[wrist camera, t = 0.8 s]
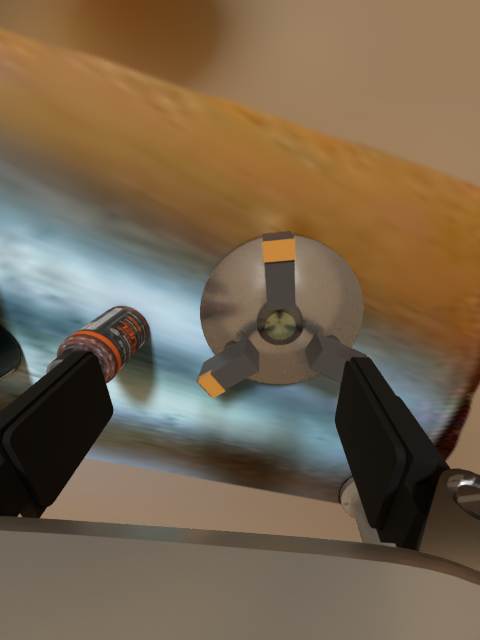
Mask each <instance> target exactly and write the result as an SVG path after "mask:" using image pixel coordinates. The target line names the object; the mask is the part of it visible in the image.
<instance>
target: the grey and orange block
mask: <svg viewBox="0 0 480 640" xmlns="http://www.w3.org/2000/svg"><path fill="white" fill-rule="evenodd" d="M262 246H263V260H264V266H265V280H266V295H267V309H268V310H280V309H294V308H296V303H295V238H294V235H293V234H292V233H291V232H290V231H287V232H277V233H267V234H263V241H262Z"/></svg>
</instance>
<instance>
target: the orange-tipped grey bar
mask: <svg viewBox="0 0 480 640" xmlns="http://www.w3.org/2000/svg"><path fill="white" fill-rule="evenodd" d="M257 372H259V351H258V350H257V349H256V347H255V346H254V345H253V344H252V342H251V341H250V340H249V339H248V337H245V338H243V339H242V340H240V341H238V342H236V341H230V342H228V343H226V345H225V348H224V351H222V352H220V353H219V354H217V355H215V356H214V357H212V358H210V359H209V360H207V361H205V362H204V364H203V366H202V369H201V372H200V374H199V377H198V380H197V382H198V383H199V384H200V386H201V387H202V388H203V389H204V390H205V391H206V392H207V393H208V394H209V395H210V396H211V397H212V398H214V397H216V396H218V395H220V394H222V393H224V392H225V390H226V389H228V388H230V387H232V386H233V385H235V384H237V383H239V382H241V381H243V380H244V379H246V378H248V377H250V376H252V375H254V374H255V373H257Z"/></svg>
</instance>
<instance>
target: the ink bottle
mask: <svg viewBox="0 0 480 640" xmlns="http://www.w3.org/2000/svg"><path fill="white" fill-rule="evenodd" d="M20 361H21V354H20V350H19V347H18V345H17V343H16V341H15V340H14V338H13V337H12V336H11V335H10V334H9V333H8V332H7V331H6V330H5V329H3V328H2V327H0V381H1V380H2V379H4V378H5V377H7V376H8V375H10V374H11V373H13V372H14V371H15V370H16V369H17V368H18V367H19V365H20Z"/></svg>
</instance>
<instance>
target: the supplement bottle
mask: <svg viewBox="0 0 480 640" xmlns="http://www.w3.org/2000/svg"><path fill="white" fill-rule="evenodd" d="M147 337H148V325H147V322H146V320H145V319H144V317H143V316H142V315H141V314H140V313H139V312H138V311H136V310H134V309H133V308H130V307H126V306H117V307H113V308H111V309H110V310H108V311H106V312H105V313H103V314H102V315H100V316H99V317H97V318H96V319H94V320H93V321H91V322H90V323H88V324H87V325H86V326H84V327H83V328H81V329H80V330H78V331H77V332H75V333H74V334H72V335H71V336H69V337H68V338H67V339H65V340H64V341H63V342H62V343H61V345H60V346H59V348H58V351H57V358H56V359H55V360H54V361H52V362H51V363H50V364H49V365H48V367H47V371H46V373H48V372H49V371H51V370H52V369H53V368H54V367H55V366H57V365H58V364H59V363H60V362H62V361H63V360H64V359H65V358H66V357H68V356H69V355H70V354H71V353H72V352H74V351H91V352H93V353H94V355H96V356H97V357H98V359H99V362H100V365H101V369H102V372H103V375H104V379H105V382H106V383H108V382H109V381H111V380H112V379H113V378H114V377H115V376H116V375H117V373H118V372H119V371H120V370H121V369H122V368H123V367H124V365H125V364H126V363H127V362H128V361H129V360H130V359H131V357H132V356H133V355H134V354H135V353H136V352H137V351H138V349H139V348H140V347H141V346H142V345H143V344H144V342H145V341H146V339H147Z"/></svg>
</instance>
